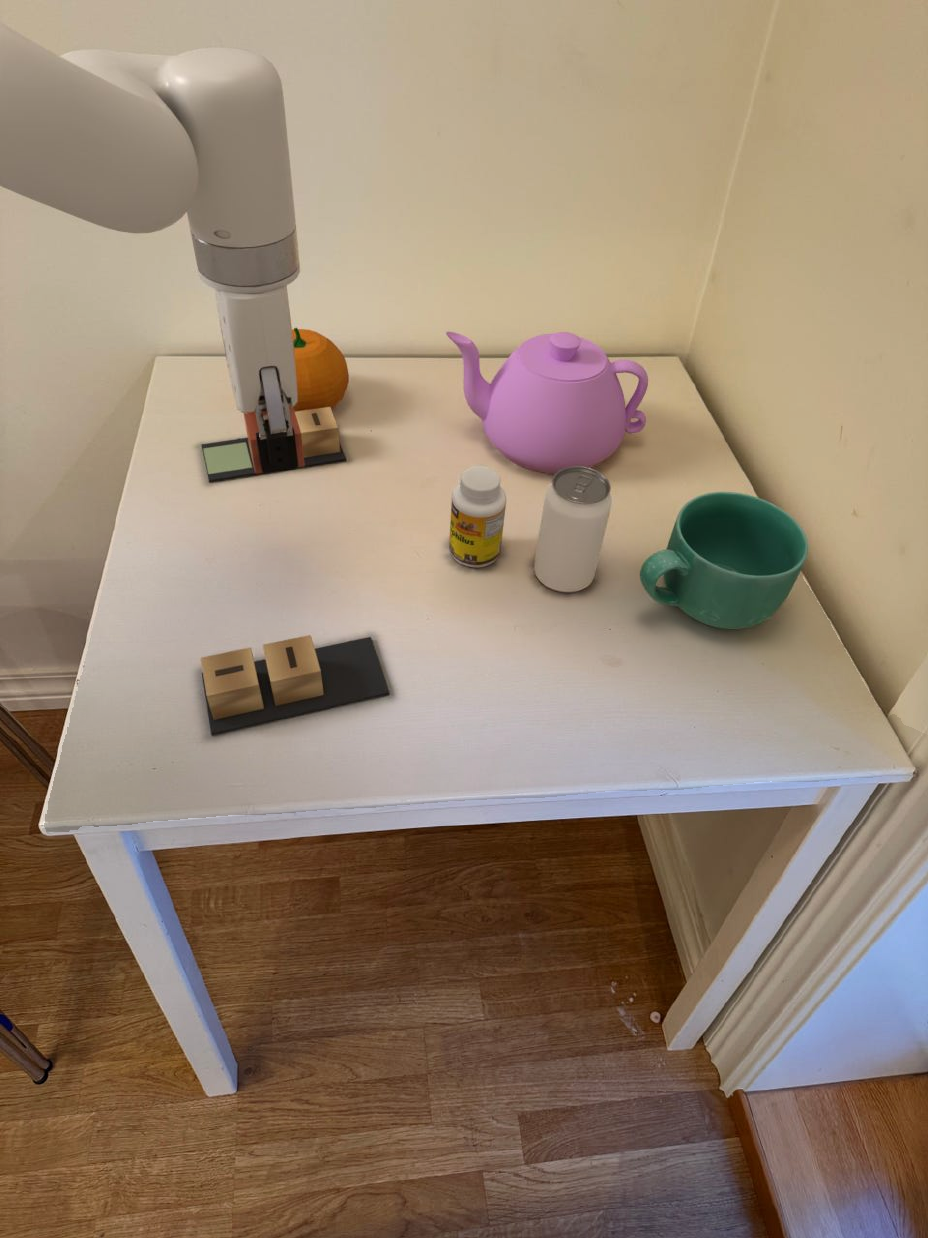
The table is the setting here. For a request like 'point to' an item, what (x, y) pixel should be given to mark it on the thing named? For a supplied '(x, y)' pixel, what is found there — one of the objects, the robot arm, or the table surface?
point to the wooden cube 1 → (231, 683)
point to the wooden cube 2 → (293, 670)
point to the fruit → (318, 371)
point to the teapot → (553, 401)
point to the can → (572, 528)
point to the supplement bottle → (477, 517)
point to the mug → (728, 560)
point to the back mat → (246, 460)
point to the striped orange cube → (253, 429)
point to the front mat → (344, 680)
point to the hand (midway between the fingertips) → (275, 450)
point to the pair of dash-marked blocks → (318, 431)
